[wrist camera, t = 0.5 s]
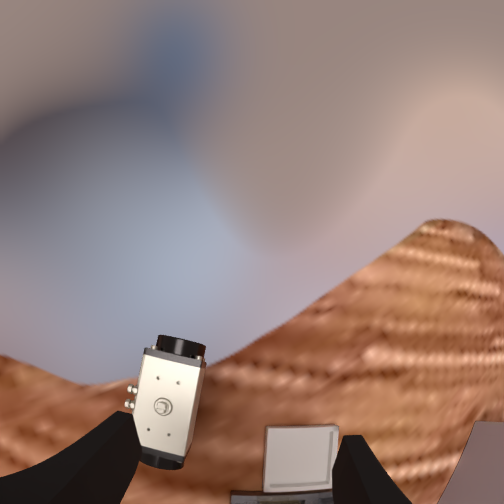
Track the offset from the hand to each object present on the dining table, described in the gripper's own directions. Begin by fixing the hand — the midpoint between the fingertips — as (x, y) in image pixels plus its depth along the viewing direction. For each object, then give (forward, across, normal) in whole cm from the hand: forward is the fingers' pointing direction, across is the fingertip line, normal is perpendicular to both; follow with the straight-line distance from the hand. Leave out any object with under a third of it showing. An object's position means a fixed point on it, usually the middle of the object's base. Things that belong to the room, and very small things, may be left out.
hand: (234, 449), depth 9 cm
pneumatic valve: (+20, +9, +15) cm, 26 cm away
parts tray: (+17, -5, +21) cm, 28 cm away
